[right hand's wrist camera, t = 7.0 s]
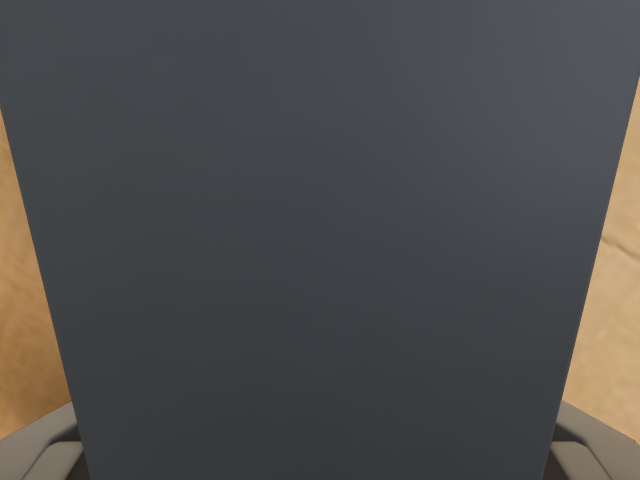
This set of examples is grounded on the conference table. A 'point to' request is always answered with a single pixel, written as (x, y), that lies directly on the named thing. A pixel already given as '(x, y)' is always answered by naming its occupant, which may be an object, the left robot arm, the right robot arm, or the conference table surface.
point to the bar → (317, 225)
